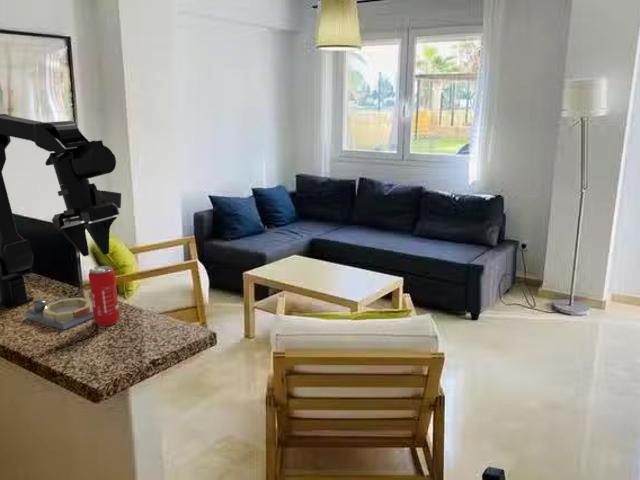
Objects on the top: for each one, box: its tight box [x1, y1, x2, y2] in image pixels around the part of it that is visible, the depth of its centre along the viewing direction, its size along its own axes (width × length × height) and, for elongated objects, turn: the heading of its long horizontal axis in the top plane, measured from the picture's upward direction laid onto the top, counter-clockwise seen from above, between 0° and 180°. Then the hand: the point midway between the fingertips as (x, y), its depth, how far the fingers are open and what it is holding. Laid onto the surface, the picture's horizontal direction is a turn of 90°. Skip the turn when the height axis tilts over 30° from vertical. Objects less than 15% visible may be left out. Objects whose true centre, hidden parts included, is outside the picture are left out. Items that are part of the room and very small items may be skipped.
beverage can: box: [88, 265, 120, 327], centre depth 122 cm, size 5×5×12 cm
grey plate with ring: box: [25, 295, 94, 331], centre depth 127 cm, size 13×10×4 cm
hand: (96, 255), depth 120 cm, fingers open, 9 cm apart
